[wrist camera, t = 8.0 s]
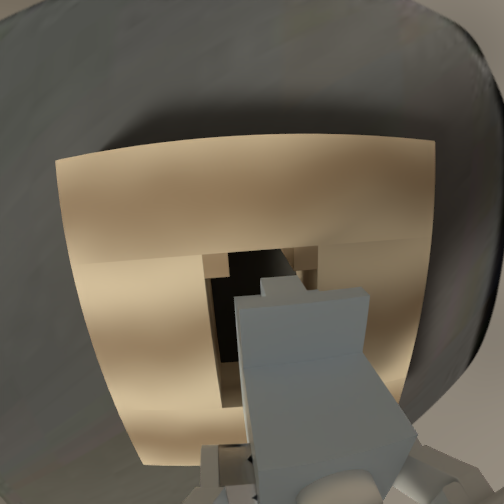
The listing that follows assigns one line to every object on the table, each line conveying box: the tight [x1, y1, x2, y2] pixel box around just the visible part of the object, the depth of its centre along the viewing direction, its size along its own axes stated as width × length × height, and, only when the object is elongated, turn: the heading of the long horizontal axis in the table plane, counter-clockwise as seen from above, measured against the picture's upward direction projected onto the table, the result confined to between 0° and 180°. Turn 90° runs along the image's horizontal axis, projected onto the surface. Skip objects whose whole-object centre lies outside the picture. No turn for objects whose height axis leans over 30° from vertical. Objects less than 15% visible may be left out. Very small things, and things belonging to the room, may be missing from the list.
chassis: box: [55, 134, 435, 466], centre depth 16 cm, size 18×16×4 cm
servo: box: [234, 275, 418, 504], centre depth 9 cm, size 10×3×9 cm, turn 2°
